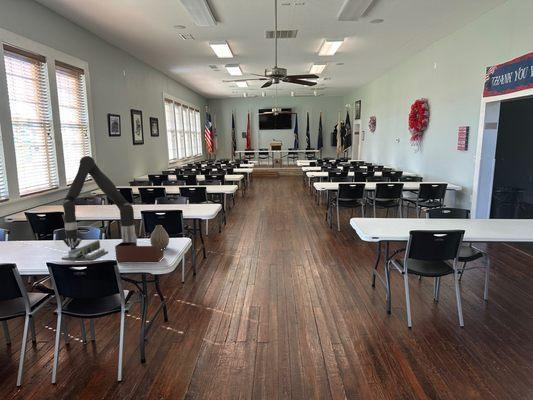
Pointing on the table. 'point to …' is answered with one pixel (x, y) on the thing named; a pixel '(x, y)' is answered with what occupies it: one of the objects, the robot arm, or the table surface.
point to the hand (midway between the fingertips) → (73, 252)
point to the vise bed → (89, 255)
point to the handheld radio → (89, 248)
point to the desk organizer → (137, 253)
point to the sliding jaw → (75, 252)
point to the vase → (159, 237)
